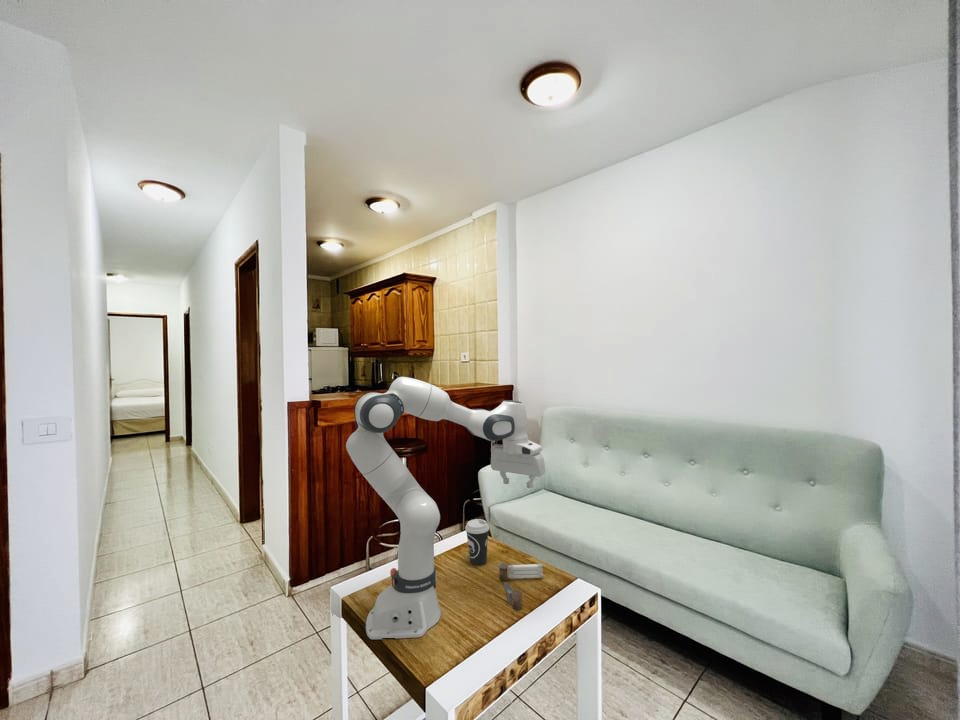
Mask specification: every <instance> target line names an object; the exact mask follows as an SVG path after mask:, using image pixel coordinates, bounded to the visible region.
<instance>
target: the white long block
mask: <svg viewBox="0 0 960 720" xmlns="http://www.w3.org/2000/svg"><path fill="white" fill-rule="evenodd" d="M530 578H531V579H532V578H533V579H534V578H544V571H543V564H542V563H537V564H536V563H534V564H533V563H532V564H530V563H529V564H511V565H510V564H508V579H530Z"/></svg>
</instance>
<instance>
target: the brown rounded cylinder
mask: <svg viewBox="0 0 960 720" xmlns="http://www.w3.org/2000/svg"><path fill="white" fill-rule="evenodd" d="M506 594H507V595H506V597H507V598H506V599H507V603H508V605H512V609H513V610H514V611H521V610H522V609H523V603H522V601H523V600H522V599H523V598H522V597H523V596H522V595H523V594H522V591H521V590H520V589H514V590H513V600H512V592H511V590H507V593H506Z"/></svg>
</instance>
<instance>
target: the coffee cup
mask: <svg viewBox="0 0 960 720" xmlns="http://www.w3.org/2000/svg"><path fill="white" fill-rule="evenodd" d="M464 529H465V532H466V538H467V547H468V556H469V563H470V564H471V565H472V566H475V567H481V566H483V565H486V563H487V560H488V544H489V543H488V537H489V530H490V526H489V524H488V522H487V521H486V520H484V519H481V518H479V519H478V518H475V519H471V520H469V521H467V524H466V525H465V527H464Z"/></svg>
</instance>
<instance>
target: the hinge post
mask: <svg viewBox="0 0 960 720" xmlns="http://www.w3.org/2000/svg"><path fill="white" fill-rule="evenodd" d="M498 569H499V571H498V572H499V573H498V574H499V576H498V577H499V582H501V583H506V582H508V569H509V564H508V563H504V562H503V563H502V562H501V563H499V564H498Z"/></svg>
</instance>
